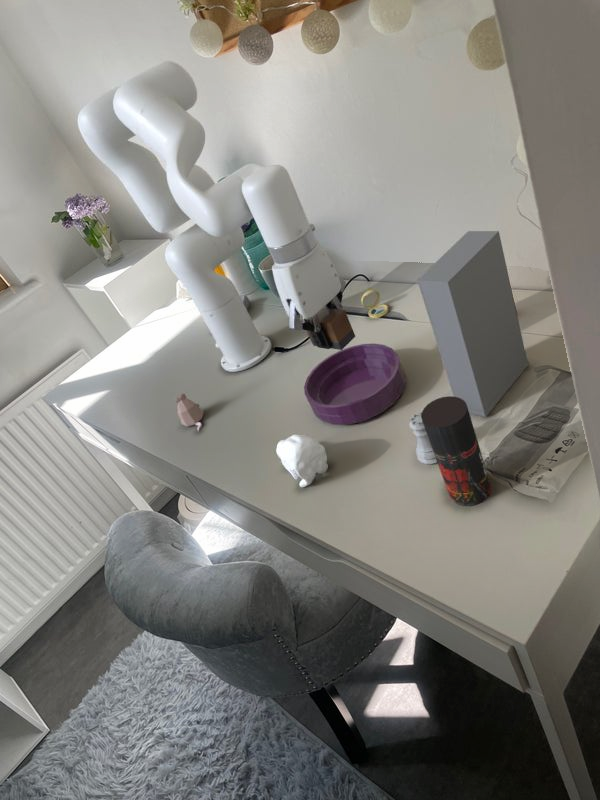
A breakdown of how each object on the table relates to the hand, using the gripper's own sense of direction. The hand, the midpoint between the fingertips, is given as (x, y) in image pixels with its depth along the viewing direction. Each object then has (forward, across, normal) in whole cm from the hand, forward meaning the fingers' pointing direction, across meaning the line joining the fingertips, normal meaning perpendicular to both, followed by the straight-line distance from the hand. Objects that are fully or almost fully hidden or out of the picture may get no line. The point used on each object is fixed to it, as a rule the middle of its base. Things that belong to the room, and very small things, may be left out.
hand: (332, 338), depth 107 cm
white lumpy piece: (+14, +19, +3) cm, 23 cm away
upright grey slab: (+14, -9, +23) cm, 28 cm away
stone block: (+13, -16, -58) cm, 62 cm away
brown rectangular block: (+1, 0, 0) cm, 1 cm away
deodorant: (+14, +12, +31) cm, 36 cm away
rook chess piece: (+14, +8, +22) cm, 27 cm away
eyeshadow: (+13, -25, -14) cm, 32 cm away
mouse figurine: (+13, +18, -32) cm, 39 cm away
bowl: (+13, 0, 0) cm, 13 cm away
